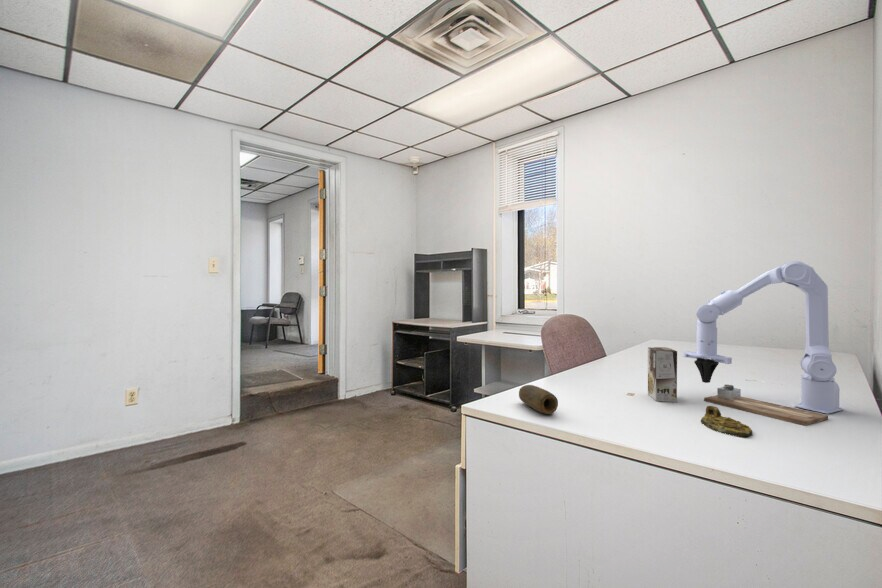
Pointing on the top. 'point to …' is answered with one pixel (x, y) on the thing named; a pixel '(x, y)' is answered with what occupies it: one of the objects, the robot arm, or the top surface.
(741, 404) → the counting board
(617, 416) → the top surface
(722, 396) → the knob
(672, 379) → the coffee box
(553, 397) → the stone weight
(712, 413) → the seal
